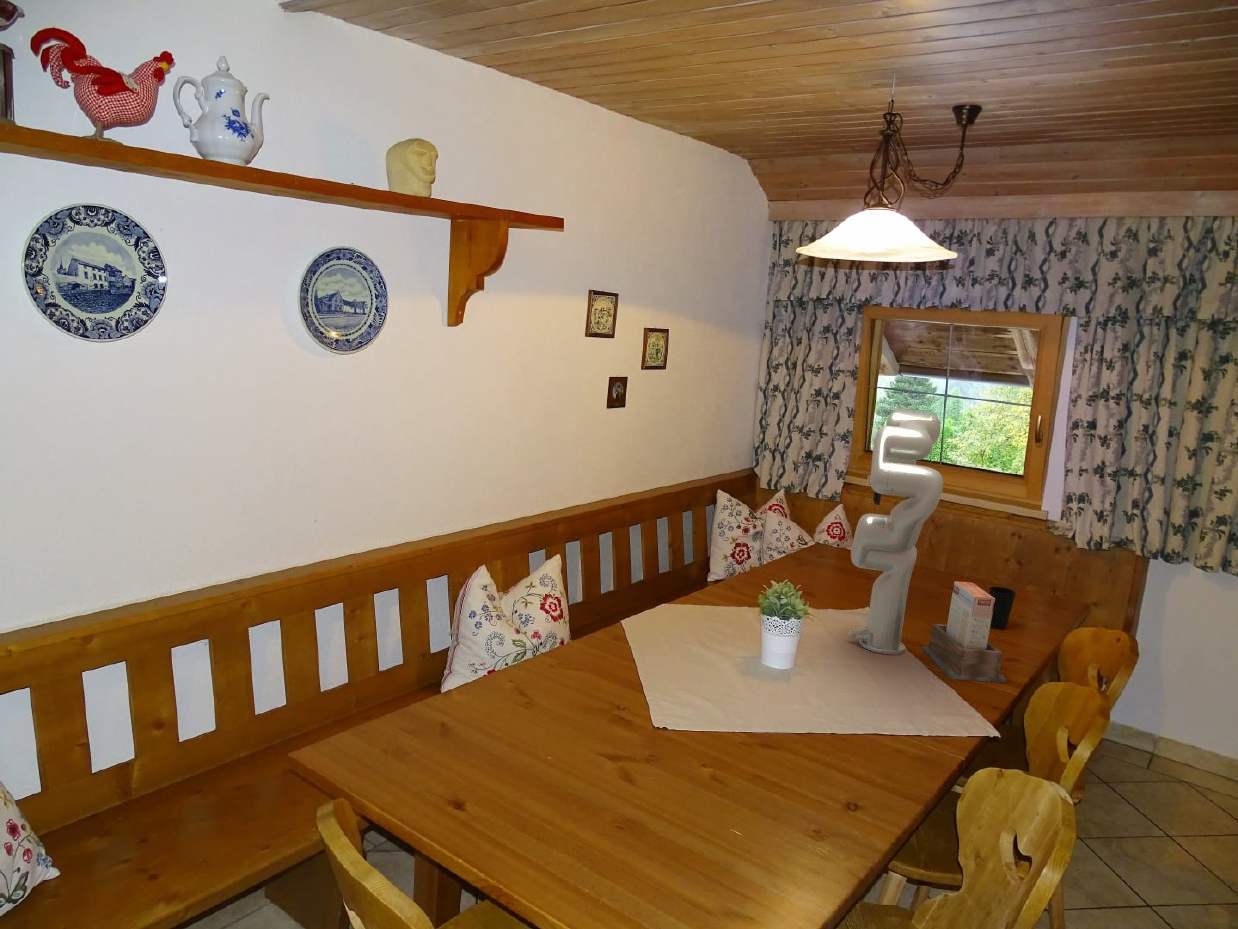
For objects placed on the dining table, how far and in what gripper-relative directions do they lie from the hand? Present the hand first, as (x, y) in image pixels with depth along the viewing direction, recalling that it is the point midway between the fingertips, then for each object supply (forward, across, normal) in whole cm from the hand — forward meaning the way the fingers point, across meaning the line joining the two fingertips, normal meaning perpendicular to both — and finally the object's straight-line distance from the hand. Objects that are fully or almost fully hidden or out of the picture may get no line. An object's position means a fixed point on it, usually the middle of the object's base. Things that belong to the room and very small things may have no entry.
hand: (892, 505), depth 268 cm
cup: (+37, +39, +1) cm, 53 cm away
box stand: (+36, +13, -34) cm, 51 cm away
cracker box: (+36, +13, -34) cm, 51 cm away
